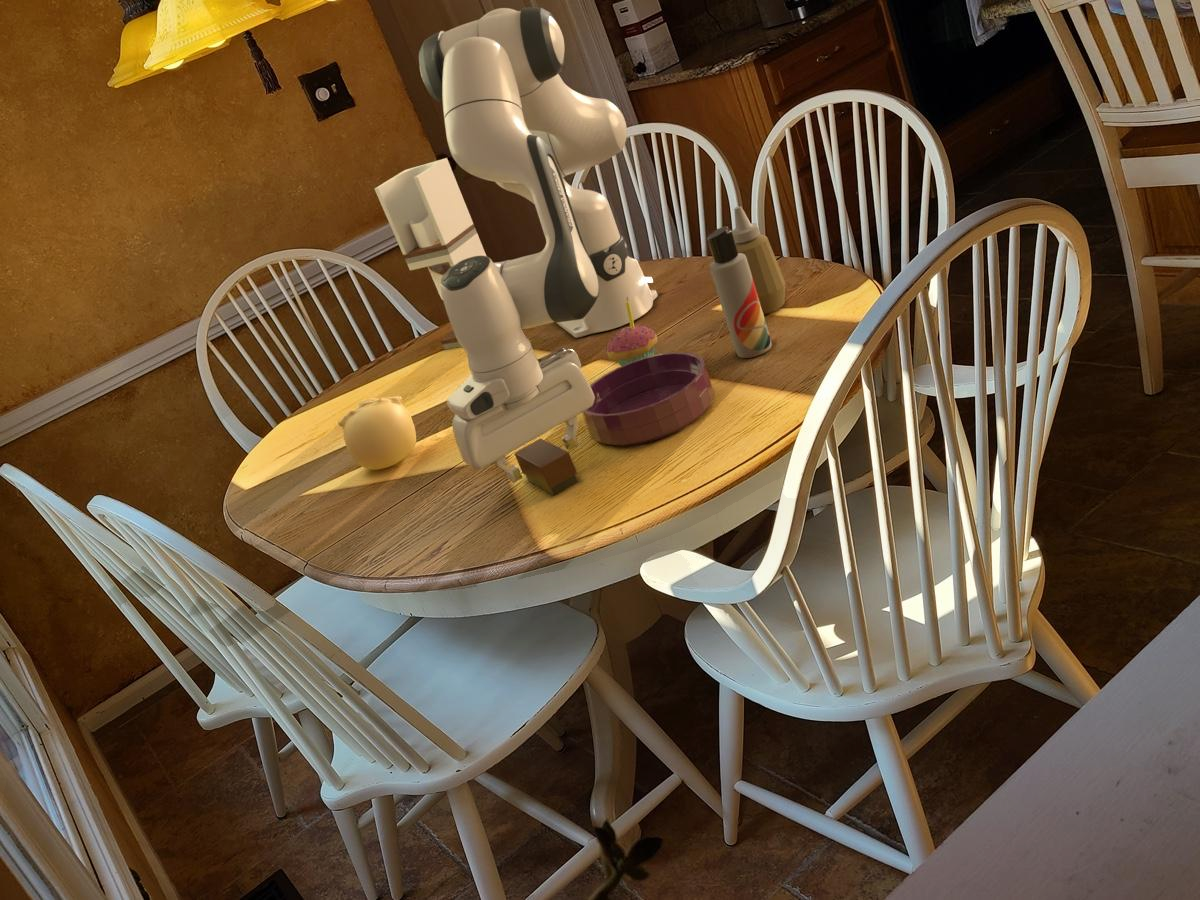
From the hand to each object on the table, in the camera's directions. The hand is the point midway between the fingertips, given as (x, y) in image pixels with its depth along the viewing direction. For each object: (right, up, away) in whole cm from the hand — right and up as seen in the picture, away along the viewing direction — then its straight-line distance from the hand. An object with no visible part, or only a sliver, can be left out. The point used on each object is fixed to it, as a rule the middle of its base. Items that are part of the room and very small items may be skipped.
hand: (544, 463), depth 155 cm
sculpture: (-27, 0, +30) cm, 40 cm away
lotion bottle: (+32, +17, +18) cm, 40 cm away
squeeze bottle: (+36, +25, +32) cm, 54 cm away
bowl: (+16, +7, +9) cm, 19 cm away
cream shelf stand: (-17, +26, +76) cm, 82 cm away
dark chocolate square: (+1, -2, +1) cm, 3 cm away
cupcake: (+14, +15, +27) cm, 34 cm away
